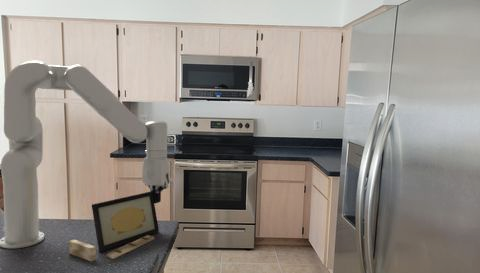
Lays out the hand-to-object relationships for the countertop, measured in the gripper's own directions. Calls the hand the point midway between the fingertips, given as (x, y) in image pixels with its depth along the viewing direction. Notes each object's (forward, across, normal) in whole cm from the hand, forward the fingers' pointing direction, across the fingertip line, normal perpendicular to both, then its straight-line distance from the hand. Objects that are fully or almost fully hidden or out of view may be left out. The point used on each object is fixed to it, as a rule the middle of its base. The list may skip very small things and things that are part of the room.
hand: (156, 202), depth 127 cm
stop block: (+10, -3, -30) cm, 32 cm away
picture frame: (+10, -3, -13) cm, 17 cm away
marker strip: (+10, +5, -17) cm, 20 cm away
